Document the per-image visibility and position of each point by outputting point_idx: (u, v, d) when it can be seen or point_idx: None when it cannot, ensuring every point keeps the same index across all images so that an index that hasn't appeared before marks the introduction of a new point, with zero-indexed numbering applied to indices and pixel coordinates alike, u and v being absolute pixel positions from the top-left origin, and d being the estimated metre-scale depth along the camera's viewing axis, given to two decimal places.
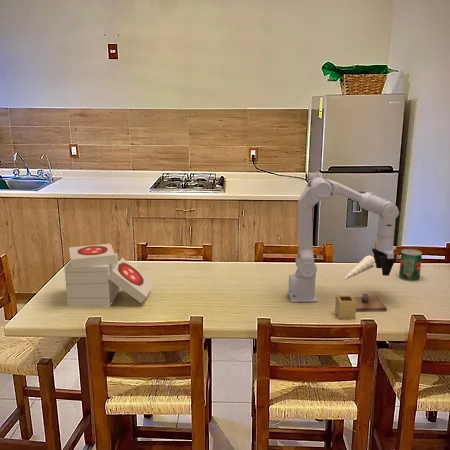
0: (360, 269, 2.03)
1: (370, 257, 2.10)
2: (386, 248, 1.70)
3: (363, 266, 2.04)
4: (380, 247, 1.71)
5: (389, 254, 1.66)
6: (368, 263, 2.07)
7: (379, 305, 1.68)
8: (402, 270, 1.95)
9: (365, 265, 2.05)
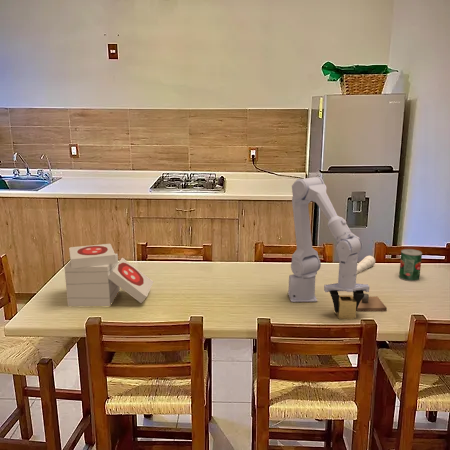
0: (360, 269, 2.02)
1: (370, 257, 2.09)
2: (338, 284, 1.60)
3: (363, 266, 2.04)
4: None
5: (324, 286, 1.61)
6: (368, 263, 2.07)
7: (379, 305, 1.68)
8: (402, 270, 1.95)
9: (365, 265, 2.05)
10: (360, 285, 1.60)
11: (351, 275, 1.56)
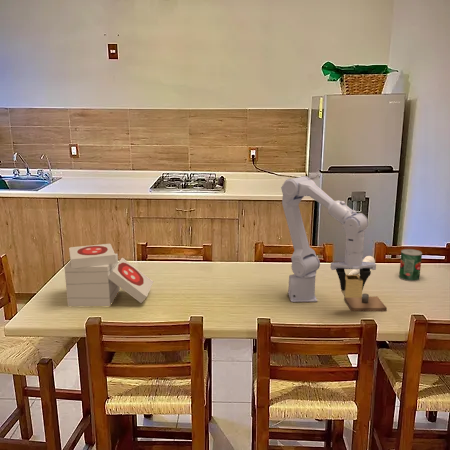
0: None
1: (370, 257, 2.09)
2: (344, 262, 1.61)
3: None
4: None
5: (331, 264, 1.61)
6: None
7: (379, 305, 1.68)
8: (402, 270, 1.95)
9: None
10: (367, 263, 1.60)
11: (358, 252, 1.57)
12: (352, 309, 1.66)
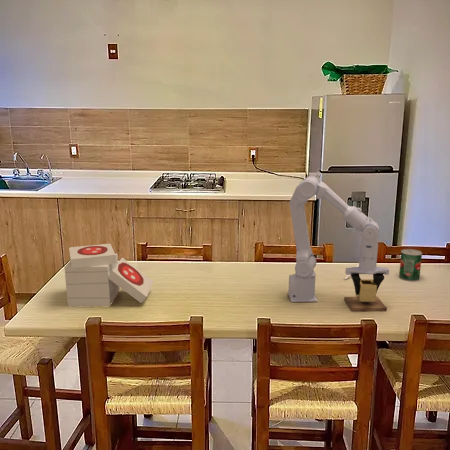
0: None
1: None
2: (359, 267, 1.67)
3: None
4: None
5: (346, 269, 1.68)
6: None
7: (379, 305, 1.68)
8: (402, 270, 1.95)
9: None
10: (380, 268, 1.67)
11: (372, 258, 1.64)
12: (352, 309, 1.66)
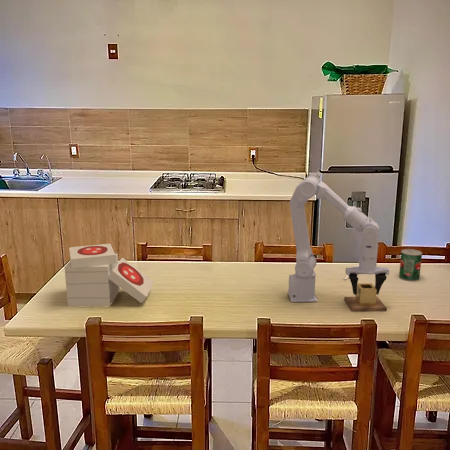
0: None
1: None
2: (359, 267, 1.67)
3: None
4: None
5: (346, 269, 1.68)
6: None
7: (379, 305, 1.68)
8: (402, 270, 1.95)
9: None
10: (380, 268, 1.67)
11: (372, 258, 1.64)
12: (352, 309, 1.66)
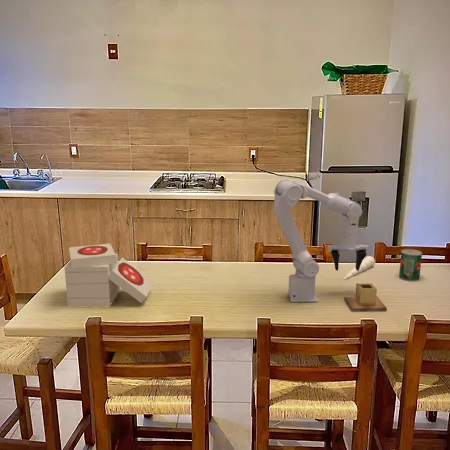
0: (360, 270, 2.02)
1: (370, 258, 2.09)
2: (340, 244, 1.77)
3: (363, 267, 2.03)
4: None
5: (328, 246, 1.77)
6: (368, 264, 2.06)
7: (379, 305, 1.68)
8: (402, 270, 1.95)
9: (365, 266, 2.04)
10: (360, 245, 1.77)
11: (352, 235, 1.73)
12: (352, 309, 1.66)
